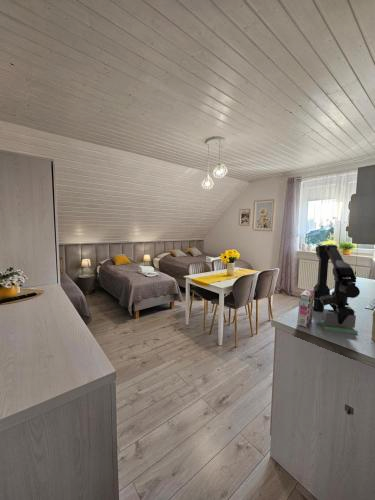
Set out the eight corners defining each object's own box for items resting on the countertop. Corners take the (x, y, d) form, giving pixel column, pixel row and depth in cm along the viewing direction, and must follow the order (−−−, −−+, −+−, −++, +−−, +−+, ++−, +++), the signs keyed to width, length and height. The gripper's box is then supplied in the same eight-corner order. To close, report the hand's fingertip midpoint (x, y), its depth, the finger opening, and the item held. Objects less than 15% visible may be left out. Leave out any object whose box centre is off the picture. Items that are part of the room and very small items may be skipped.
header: (319, 322, 117) (320, 313, 116) (350, 326, 112) (351, 317, 112) (324, 329, 109) (324, 319, 108) (357, 334, 105) (358, 323, 104)
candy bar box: (307, 328, 110) (310, 296, 108) (297, 325, 113) (299, 294, 111) (312, 321, 119) (314, 291, 117) (302, 318, 122) (304, 289, 120)
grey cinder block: (322, 320, 115) (323, 308, 114) (350, 323, 111) (351, 312, 110) (325, 324, 110) (326, 312, 109) (354, 327, 106) (355, 315, 106)
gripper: (317, 285, 120) (315, 312, 122) (328, 295, 102) (325, 327, 104) (341, 286, 117) (338, 315, 118) (356, 298, 99) (353, 331, 101)
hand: (338, 321), depth 110 cm, fingers closed on grey cinder block, 5 cm apart
